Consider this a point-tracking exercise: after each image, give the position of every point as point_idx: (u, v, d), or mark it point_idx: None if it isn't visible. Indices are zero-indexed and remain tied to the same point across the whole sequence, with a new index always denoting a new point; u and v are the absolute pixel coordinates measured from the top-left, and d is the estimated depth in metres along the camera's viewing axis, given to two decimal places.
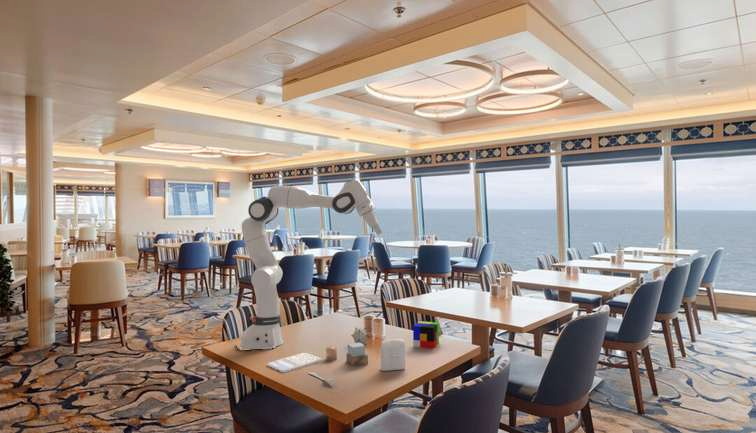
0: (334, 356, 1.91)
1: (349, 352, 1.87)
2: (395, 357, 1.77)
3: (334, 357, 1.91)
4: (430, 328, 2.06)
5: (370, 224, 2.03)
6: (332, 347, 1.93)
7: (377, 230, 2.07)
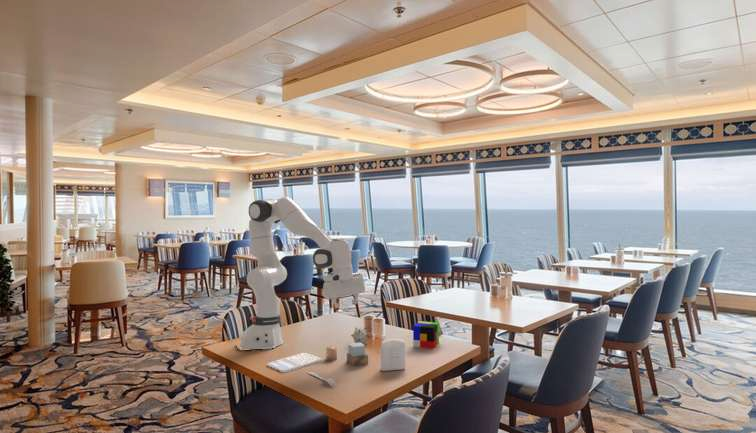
0: (334, 356, 1.91)
1: (349, 352, 1.87)
2: (395, 357, 1.77)
3: (334, 357, 1.91)
4: (430, 328, 2.06)
5: (324, 295, 1.89)
6: (332, 347, 1.93)
7: (334, 303, 1.90)
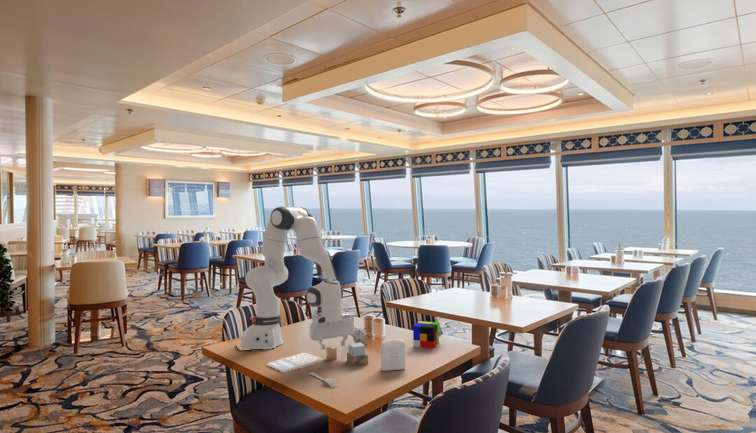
0: (334, 356, 1.91)
1: (350, 352, 1.87)
2: (395, 357, 1.77)
3: (334, 357, 1.91)
4: (430, 328, 2.06)
5: None
6: (332, 347, 1.93)
7: (320, 344, 1.90)
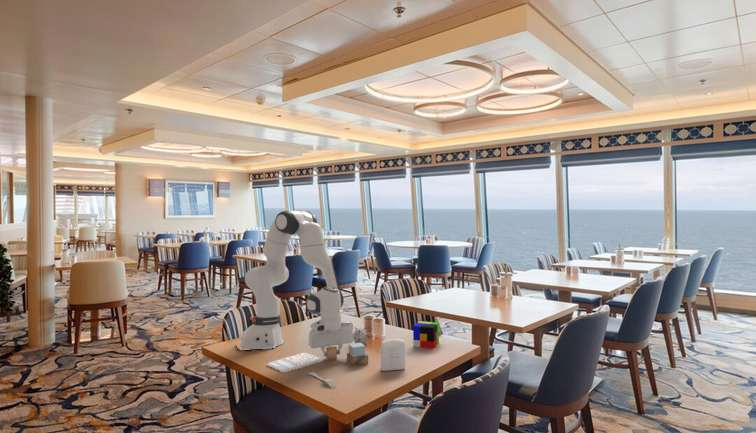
0: (334, 356, 1.91)
1: (350, 352, 1.87)
2: (395, 357, 1.77)
3: (334, 357, 1.91)
4: (430, 328, 2.06)
5: (308, 343, 1.89)
6: (332, 347, 1.93)
7: (322, 351, 1.90)
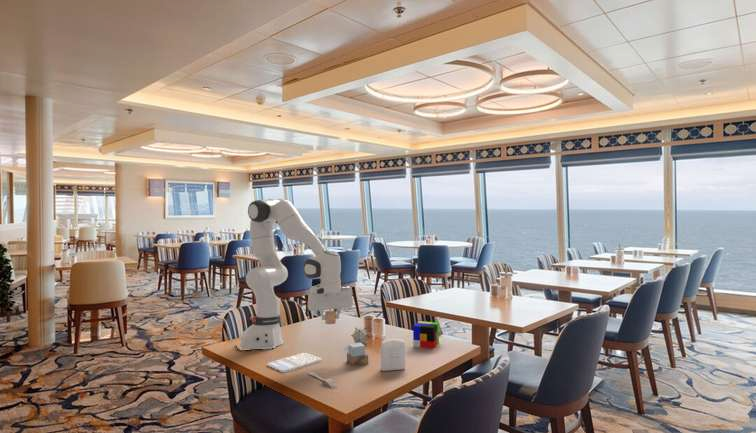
0: (333, 320, 1.91)
1: (349, 352, 1.87)
2: (395, 357, 1.77)
3: (333, 321, 1.91)
4: (430, 328, 2.06)
5: None
6: (331, 311, 1.93)
7: None
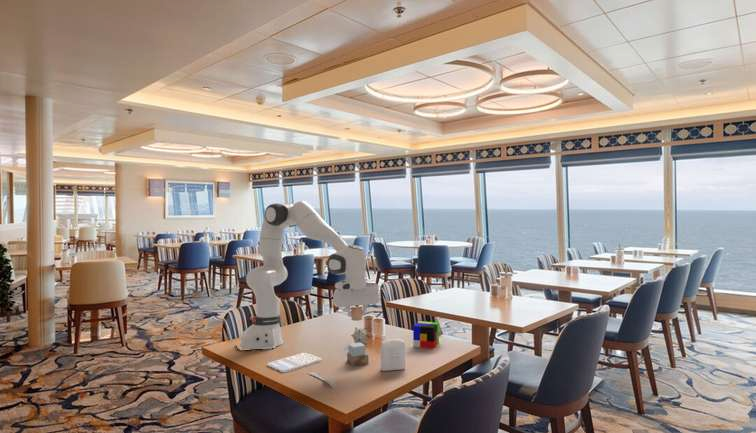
0: (359, 316, 1.85)
1: (349, 352, 1.87)
2: (395, 357, 1.77)
3: (359, 317, 1.85)
4: (430, 328, 2.06)
5: (333, 302, 1.83)
6: (357, 307, 1.87)
7: (348, 311, 1.85)
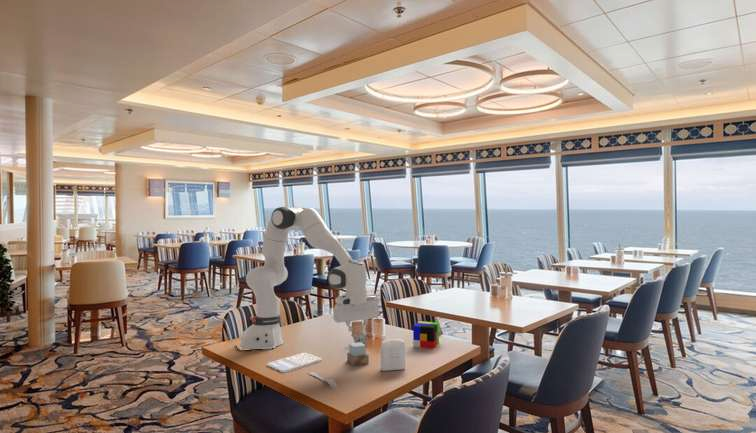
0: (360, 331, 1.85)
1: (350, 352, 1.87)
2: (395, 357, 1.77)
3: (360, 332, 1.85)
4: (430, 328, 2.06)
5: None
6: (357, 322, 1.87)
7: (348, 326, 1.85)
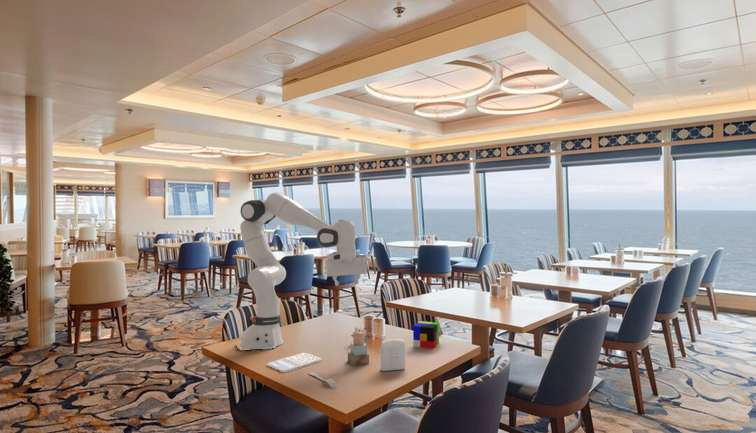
0: (361, 341, 1.86)
1: (352, 351, 1.88)
2: (395, 357, 1.77)
3: (361, 342, 1.86)
4: (430, 328, 2.06)
5: (325, 272, 1.99)
6: (359, 332, 1.88)
7: (335, 281, 1.99)
